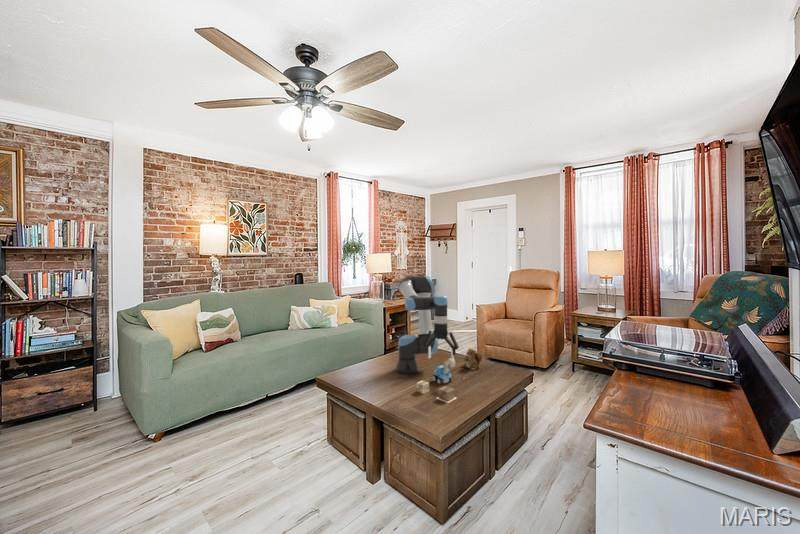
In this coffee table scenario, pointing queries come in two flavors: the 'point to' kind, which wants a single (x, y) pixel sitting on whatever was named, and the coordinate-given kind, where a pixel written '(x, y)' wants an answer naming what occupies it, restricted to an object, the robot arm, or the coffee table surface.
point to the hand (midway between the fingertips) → (440, 359)
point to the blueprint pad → (446, 401)
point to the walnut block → (446, 393)
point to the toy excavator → (443, 372)
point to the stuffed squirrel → (472, 359)
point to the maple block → (422, 387)
